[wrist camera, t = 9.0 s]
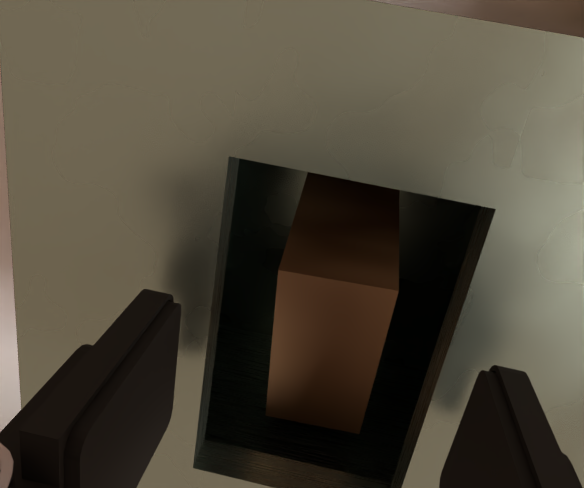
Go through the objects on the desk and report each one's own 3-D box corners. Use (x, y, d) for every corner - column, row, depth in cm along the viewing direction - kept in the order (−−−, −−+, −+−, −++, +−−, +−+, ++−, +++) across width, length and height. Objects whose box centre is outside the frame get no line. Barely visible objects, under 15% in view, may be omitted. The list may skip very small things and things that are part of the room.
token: (399, 174, 18) (398, 291, 13) (368, 304, 21) (359, 434, 16) (311, 160, 18) (277, 270, 13) (295, 292, 21) (265, 415, 17)
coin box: (598, 53, 17) (854, 84, 8) (471, 392, 23) (536, 638, 14) (185, -19, 18) (-8, -65, 9) (161, 323, 24) (27, 509, 15)
